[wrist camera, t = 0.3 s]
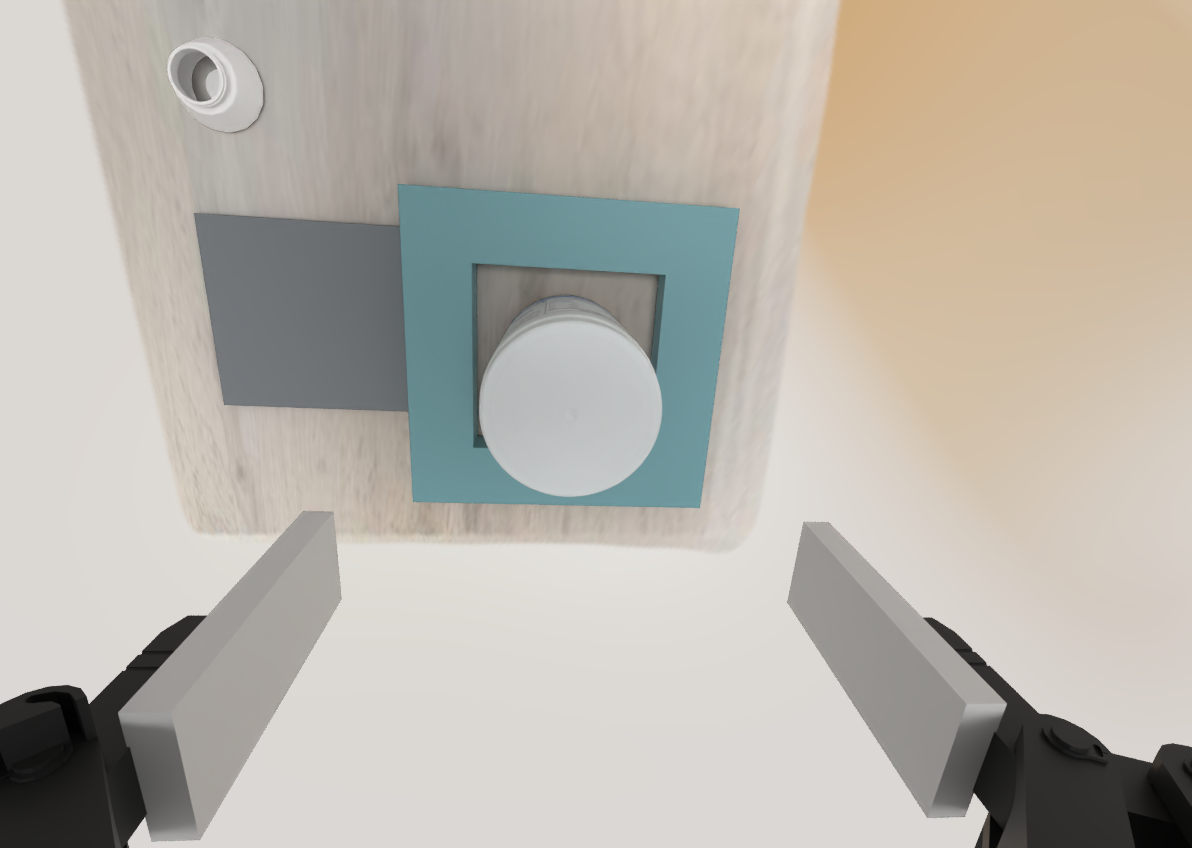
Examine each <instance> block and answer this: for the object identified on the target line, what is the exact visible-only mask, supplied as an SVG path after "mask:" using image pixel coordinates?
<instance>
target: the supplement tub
mask: <svg viewBox="0 0 1192 848" xmlns="http://www.w3.org/2000/svg"><path fill="white" fill-rule="evenodd" d="M479 419H480V425H481V430H482V434H483V436H484V439H485V442H486V444H487V446H488V448H489V450H490V452H491V454H492V455H493V457H494V458H495V460H496V461H497V462H498V464H499V465H500V466H501V467H502V468H503V469H504V470H505V471H506V472H507V473H508V474H509V475H510V476H511V477H513V478H514V479H516V480H517V481H519V482H520V483H522V484H523V485H525V486H527V487H529V488H531V489H534V490H536V491H539V492H541V493H545V494H549V495H554V496H562V497H576V496H585V495H590V494H594V493H598V492H601V491H604V490H606V489H609V488H611V487H613V486H615V485H617V484H618V483H620V482H622V481H623V480H624V479H626V478H627V477H629V476H630V475H631V474H632V473H633V472H634V471H635V470H636V469H637V468H638V467H639V466H640V465H641V464H642V463H643V462H644V460H645V459H646V457H647V456H648V454H649V453H650V451H651V449H652V447H653V446H654V444H655V441H656V439H657V436H658V433H659V429H660V425H661V419H662V397H661V391H660V386H659V383H658V380H657V377H656V374H655V371H654V368H653V366H652V364H651V362H650V360H649V358H648V357H647V355H646V354H645V352H644V351H643V349H642V348H641V347H640V346H639V344H638V343H637V342H636V341H635V339H634V338H633V337H632V336H631V335H630V334H629V333H628V332H627V331H626V330H625V329H624V328H623V326H622V325H621V324H620V323H619V322H618V321H617V320H616V319H615V318H614V317H613V316H612V315H611V314H610V313H609V312H608V311H607V310H605V309H604V308H603V307H601V306H600V305H598V304H597V303H595V302H593V301H591V300H588V299H585V298H582V297H578V296H571V295H560V296H553V297H548V298H544V299H541V300H539V301H537V302H535V303H533V304H532V305H530V306H528V307H527V308H525V309H524V310H523V311H522V312H521V313H520V314H519V315H518V316H517V317H516V318H515V319H514V320H513V322H512V323H511V325H510V326H509V328H508V329H507V331H506V333H505V334H504V336H503V338H502V340H501V341H500V343H499V345H498V347H497V348H496V350H495V352H494V354H493V356H492V358H491V360H490V362H489V364H488V366H487V368H486V371H485V373H484V376H483V380H482V384H481V389H480V398H479Z"/></svg>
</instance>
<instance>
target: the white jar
mask: <svg viewBox="0 0 1192 848" xmlns="http://www.w3.org/2000/svg"><path fill="white" fill-rule="evenodd" d="M205 56H208V57H209V58H210V59H211V60H212V61H213V62H214V64H215V65H216V67H217V69H215V70H213V71H211V72H210V73H209V74H208V76H207V78H206V89H207V92H208V94H209V96H210V97H211V98H212V99H210V100H208V101H203V102H199V101H197V99H196V96H195V94H194V92H193V89H192V73H193V70H194V68H195V65H196V64H197V63H198V62H199V61H200V60H201V59H202V58H203V57H205ZM167 73H168V77H169V80H170V83H171V85H172V87H173V88H174V90H175V93H176V95H177V97H178V99H179V101H180V102H181V104H182V106H183V107H184V108H185V109H186V110H187V111H188V112H189V113H190V115H191V116H192V117H193V118H194V119H195V120H197V121H198V122H200V123H202V124H203V125H205V126H207V127H209V128H210V129H213V130H218V131H223V132H229V133H232V132H236V131H240V130H243V129H246V128H248V127H249V126H250V125H251V124H252V123H253V122H254V121H255V120H256V119H257V118H258V116H259V113H260V111H261V108H262V106H263V85H262V82H261V80H260V77H259V74H258V72H257V69H256V67H255V66H254V65H253V63H252V62H251V61H250V60H249V59H248V57H247V56H246V55H245V54H244V52H242V51H241V50H239V49H238V48H236V47H234V46H233V45H231V44H230V43H228V42H226V41H225V40H222V39H217V38H212V37H206V36H205V37H201V38H198V39H194V40H190V41H188V42H186V43H184V44H182V45H181V46H179V47H177V48H176V49H174V51H173V52H172V53H171V55H170V57H169V59H168V63H167Z"/></svg>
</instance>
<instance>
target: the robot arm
mask: <svg viewBox="0 0 1192 848" xmlns="http://www.w3.org/2000/svg"><path fill="white" fill-rule="evenodd" d="M340 601H341V587H340V576H339V566H338V555H337V545H336V534H335V523H334V513H333V512H324V511H303V512H302V513H301V514H300V516H299V517H298V518H297V519H296V520H295V521H294V522H293V523H292V524H291V525H290V526H289V527H288V529H287V530H286V531H285V532H284V533H283V534H282V535H281V536H280V537H279V538H278V539H277V541H276V542H275V543H274V544H273V545H272V546H271V547H270V548H269V549H268V550H267V551H266V553H265V554H264V555H263V556H262V557H261V558H260V559H259V560H258V561H257V562H256V563H255V565H253V567H252V568H251V569H250V570H249V571H248V572H247V573H246V574H245V575H244V576H243V578H242V579H241V580H240V581H239V582H238V583H237V584H236V585H235V586H234V587H233V588H232V589H231V591H230V592H229V593H228V594H227V595H226V596H225V597H224V598H223V599H222V600H221V601H220V602H219V604H218V605H217V606H216V607H215V608H214V609H213V610H212V611H211V612H210V613H209V614H208V615H207V616H187V617H185V618H183V619H182V620H180V621H178V622H177V623H175V624H174V625H172V626H170V627H169V628H167V629H166V630H164V631H162V632H161V633H160V634H159V635H158V636H157V637H156V638H155V639H154V640H153V641H152V642H151V643H150V644H149V645H148V646H147V647H146V648H145V649H144V650H143V651H142V654H141V655H138V656H137V657H136V658H135V659H134V660H133V661H132V662H131V663H130V664H129V665H128V666H127V667H126V670H125V671H122V672H121V673H120V674H119V675H118V676H117V677H116V678H115V679H114V680H113V681H112V682H111V683H110V684H109V685H108V686H107V687H106V688H105V689H104V690H103V691H102V692H101V693H100V694H99V695H98V696H97V697H96V698H95V699H94V700H93V701H92V702H91V703H90V704H88V700H87V697H86V695H85V694H84V692H83V691H82V690H81V688H77V687H73V686H69V685H63V686H51V687H45V688H42V689H38V690H35V691H31V692H27V693H24V694H22V695H20V696H18V697H15V698H13V699H11V700H9V701H6V702H4V703H2V704H0V848H129V846H128V842H127V841H128V840H129V838H130V837H131V836H132V834H133V833H134V831H135V830H136V829H137V827H138V826H139V824H140V823H141V822H142V820H143V819H144V817H145V818H146V822H147V826H148V830H149V833H150V837H151V841H152V842H153V841H185V840H200V839H201V837H202V836H203V834H204V832H205V831H206V829H207V827H208V825H209V824H210V822H211V820H212V818H213V817H214V815H215V813H216V812H217V810H218V808H219V807H220V805H221V803H222V801H223V800H224V798H225V797H226V795H227V793H228V791H229V790H230V788H231V786H232V785H233V783H234V781H235V779H236V778H237V776H238V774H239V773H240V771H241V769H242V768H243V766H244V764H245V762H246V761H247V759H248V757H249V756H250V754H251V752H252V750H253V749H254V747H255V745H256V744H257V742H258V740H259V739H260V737H261V735H262V734H263V732H264V730H265V728H266V727H267V725H268V723H269V722H270V720H271V718H272V717H273V715H274V713H275V711H276V710H277V708H278V706H279V704H280V703H281V701H282V700H283V698H284V696H285V694H286V693H287V691H288V689H289V688H290V686H291V684H292V683H293V681H294V679H295V677H296V676H297V674H298V672H299V671H300V669H301V667H302V665H303V664H304V662H305V660H306V659H307V657H308V655H309V654H310V652H311V650H312V649H313V647H314V645H315V643H316V642H317V640H318V638H319V637H320V635H321V633H322V632H323V630H324V628H325V626H326V625H327V623H328V621H329V620H330V618H331V616H332V615H333V613H334V611H335V609H336V608H337V606H338V604H339V603H340ZM787 603H788V604H789V606H790V607H791V609H792V610H793V612H794V613H795V615H796V617H797V618H798V620H799V621H800V623H801V624H802V626H803V627H804V629H805V630H806V632H807V633H808V635H809V637H810V638H811V640H812V641H813V643H814V644H815V646H816V647H817V649H818V650H819V652H820V653H821V655H822V656H823V658H824V659H825V661H826V663H827V664H828V666H829V667H830V669H831V670H832V672H833V673H834V675H835V677H836V678H837V679H838V681H839V683H840V684H841V686H842V687H843V689H844V690H845V692H846V693H847V695H848V696H849V698H850V700H851V701H852V703H853V704H854V706H855V707H856V709H857V710H858V712H859V713H860V715H861V717H862V718H863V720H864V721H865V722H866V724H867V725H868V727H869V729H870V730H871V732H872V733H873V735H874V737H875V738H876V739H877V741H878V743H879V744H880V746H881V747H882V749H883V750H884V752H885V753H886V755H887V757H888V758H889V760H890V761H891V763H892V764H893V766H894V767H895V769H896V770H897V772H898V773H899V775H900V777H901V778H902V780H903V781H904V783H905V784H906V786H907V787H908V789H909V790H910V792H911V793H912V795H913V797H914V798H915V800H916V801H917V803H918V804H919V806H920V807H921V809H922V810H923V812H924V813H925V815H926V816H927V818H942V817H965V815H966V812H967V810H968V807H969V804H970V802H971V799H972V796H973V794H974V793H975V794H976V796H977V797H978V798H979V800H980V801H981V802H982V804H983V805H984V806H985V808H986V809H987V810H988V811H989V813H988V815H987V818H986V821H985V823H984V826H983V828H982V831H981V833H980V836H979V838H978V841H977V843H976V846H975V848H1192V747H1189V746H1183V745H1178V744H1173V743H1172V744H1166V745H1162V746H1161V748H1160V750H1159V751H1158V753H1157V755H1156V757H1155V759H1154V761H1153V763H1150V762H1146V761H1141V760H1137V759H1133V758H1129V757H1125V756H1120V755H1116V754H1112V753H1111V752H1110V751H1109V750H1108V749H1107V748H1106V747H1105V746H1104V745H1103V744H1102V743H1101V742H1100V741H1099V740H1098V739H1097V738H1095V737H1094V736H1092V735H1091V734H1089V733H1088V732H1087V731H1085V730H1084V729H1083V728H1081V727H1079V726H1076V725H1075V724H1072V723H1071V722H1069V721H1066V720H1064V719H1061V718H1058V717H1055V716H1052V715H1048V714H1039V713H1037V711H1036V710H1035V709H1033V707H1032V706H1030V705H1029V704H1028V703H1027V702H1026V701H1025V700H1024V699H1023V698H1022V697H1021V696H1020V695H1019V694H1018V693H1017V692H1016V691H1015V690H1014V689H1013V688H1012V687H1011V686H1010V685H1009V684H1008V683H1007V682H1006V681H1005V680H1004V679H1003V678H1002V677H1001V676H1000V675H999V674H998V673H997V672H995V671H994V670H993V669H992V668H991V667H990V666H987V665H986V662H985V661H984V660H983V659H982V658H981V657H980V656H979V655H978V654H977V653H976V652H973V651H972V648H971V647H970V646H969V645H968V644H967V643H966V642H964V640H963V639H962V638H960V637H959V636H958V635H957V634H956V633H955V632H954V631H952V630H951V629H949V628H948V627H946V626H944V625H943V624H941V623H940V622H938V621H937V620H935V619H933V618H922V617H921V616H920V615H919V614H918V613H917V611H916V610H915V609H914V608H913V607H911V605H910V604H909V603H908V602H907V601H906V600H905V599H904V598H903V597H902V596H901V595H900V594H899V593H898V592H897V591H896V590H895V589H894V588H893V587H892V586H891V585H890V584H889V583H888V582H887V581H886V580H885V579H884V578H883V577H882V576H881V575H880V574H879V573H878V572H877V571H876V570H875V569H874V568H873V567H872V566H871V565H870V564H869V563H868V562H867V561H866V560H865V559H864V558H863V557H862V556H861V555H860V554H859V553H858V551H857V550H856V549H855V548H854V547H853V546H852V545H851V544H850V543H848V541H847V540H846V539H845V538H844V537H843V536H842V535H841V534H840V533H839V532H838V531H837V530H836V529H835V528H834V527H833V526H832V525H831V524H830V523H829V522H804V523H803V527H802V532H801V537H800V542H799V547H798V552H797V557H796V562H795V567H794V572H793V577H792V582H791V587H790V591H789V596H788V602H787Z"/></svg>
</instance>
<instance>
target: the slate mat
mask: <svg viewBox="0 0 1192 848" xmlns="http://www.w3.org/2000/svg"><path fill="white" fill-rule="evenodd" d="M194 216H195V223H196V229H197V236H198V242H199V248H200V255H201V261H202V267H203V274H204V280H205V286H206V293H207V299H208V305H209V312H210V318H211V325H212V331H213V337H214V344H215V350H216V356H217V363H218V369H219V375H220V382H221V388H222V395H223V401H224V405H239V406H267V407H296V408H324V409H352V410H380V411H409V408H408V387H407V367H406V346H405V325H404V304H403V283H402V262H401V241H400V227H398V226H383V225H368V224H352V223H337V222H321V221H306V220H291V219H275V218H260V217H244V216H229V215H214V214H198V213H194Z"/></svg>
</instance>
